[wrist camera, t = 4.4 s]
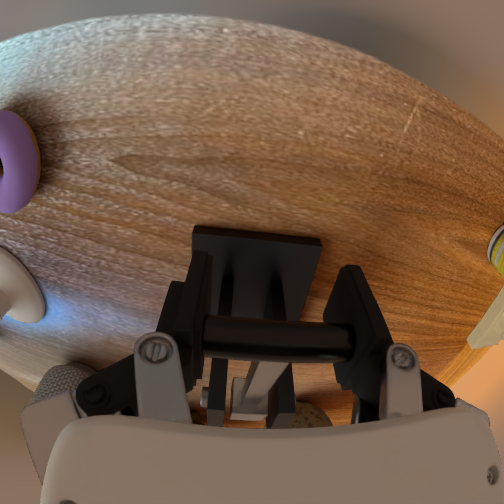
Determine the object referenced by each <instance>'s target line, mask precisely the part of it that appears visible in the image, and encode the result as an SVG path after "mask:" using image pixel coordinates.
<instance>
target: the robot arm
mask: <svg viewBox="0 0 504 504" xmlns="http://www.w3.org/2000/svg"><path fill="white" fill-rule="evenodd" d="M212 271H213V255H208V251H200V250H194V252H193V256H192V259H191V263H190V266H189V270H188V274H187V277H186V281H185V282H180V281H172V282H171V284H170V286H169V289H168V293H167V296H166V299H165V302H164V305H163V309H162V312H161V315H160V319H159V322H158V325H157V329H156V332H151V333H147V334H145V335H143V336H142V337H140V338H139V339H138V340H137V342H136V344H135V346H134V354H132V355H130V356H128V357H126V358H124V359H122V360H120V361H119V362H117V363H115V364H113V365H111V366H109V367H107V368H105V369H103V370H101V371H99V372H97V373H95V374H93V375H91V376H89V377H87V378H86V379H84V380H83V381H81V382H80V384H79V385H78V386H77V389H76V390H74V391H71V392H70V391H69V390H66V391H63V392H61V393H58V394H55V395H53V396H50V397H47V398H44V399H42V400H39V401H36V402H33V403H30V404H28V405H27V406H25V407H24V408H23V410H22V411H21V414H20V423H21V427H22V431H23V434H24V437H25V440H26V444H27V447H28V450H29V453H30V456H31V458H32V461H33V464H34V467H35V469H36V472H37V474H38V477H39V479H40V482H41V484H42V486H43V487H42V493H41V501H40V504H504V473H503V468H502V463H501V459H500V455H499V452H498V449H497V445H496V442H495V439H494V436H493V434H492V431H491V429H490V420H489V417H488V415H487V414H486V413H485V412H484V411H482V410H480V409H478V408H476V407H475V406H473V405H471V404H469V403H467V402H465V401H463V400H462V399H460V398H456V399H455V397H454V394H453V393H452V391H451V390H450V389H449V388H448V387H447V386H445V385H444V384H442V383H441V382H439V381H438V380H436V379H435V378H433V377H432V376H430V375H429V374H427V373H426V372H424V371H423V370H421V369H420V367H419V359H418V356H417V354H416V353H415V351H414V350H413V349H412V348H411V347H409V346H408V345H405V344H403V343H395V344H394V342H393V340H392V337H391V335H390V332H389V330H388V327H387V325H386V322H385V320H384V318H383V315H382V313H381V311H380V308H379V306H378V304H377V301H376V299H375V298H374V296H373V294H372V291H371V289H370V287H369V285H368V283H367V280H366V278H365V276H364V274H363V272H362V270H361V268H360V266H358V265H348V264H347V265H345V267H342V268H341V269H340V271H339V274H338V276H337V279H336V282H335V284H334V287H333V290H332V292H331V295H330V297H329V300H328V302H327V305H326V308H325V310H324V313H323V321H324V322H326V323H349V324H351V325H352V326H353V328H354V330H355V335H356V347H355V352H354V355H353V357H352V359H351V360H350V361H349V362H348V363H333V366H334V371H335V375H336V380H337V383H340V384H341V388H342V390H352V392H353V393H354V401H353V410H352V419H351V424H350V425H340V426H329V427H316V428H294V429H252V428H230V427H217V426H206V425H196V424H193V422H192V418H191V413H190V409H189V404H188V399H187V395H186V393H188V392H189V391H191V390H192V389H193V386H196V379H202V374H203V366H204V357H203V356H202V353H201V345H202V332H203V324H204V318H205V315H206V314H210V312H211V297H212Z"/></svg>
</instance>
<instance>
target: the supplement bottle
mask: <svg viewBox="0 0 504 504" xmlns="http://www.w3.org/2000/svg"><path fill="white" fill-rule="evenodd" d="M487 256H488V259H489V261H490V262H491V264H492V265H493V266H494V267H495V268H496V270H497V271H498V272H499V273H500V275H501V276H502V277H503V278H504V225H502V226H501V227H500V228H499V229H498V230H497V231H496V232H495V233H494V235H493V237H492V238H491V240H490V243H489V246H488V251H487Z"/></svg>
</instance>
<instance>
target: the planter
mask: <svg viewBox="0 0 504 504" xmlns="http://www.w3.org/2000/svg"><path fill="white" fill-rule="evenodd" d="M95 373H97V372H96V371H95V370H93V369H92V368H90V367H88V366H86V365H84V364H81V363H77V362H70V363H68V364H67V365H58V366H54V367H52V368H51V369H49V370H48V371H47V372H46V374H45V375H44V377H43V378H42V380H41V381H40V383H39V385H38V387H37V389H36V390H35V392H34V395H33V397H32V399H31V401H30V403H33V402H36V401H39V400H42V399H44V398H47V397H50V396H53V395H55V394H58V393H61V392H63V391H66V390H69V391H70V392H71V391H74V390H76V389H77V386H78V385H79V384H80V382H81V381H83V380H84V379H86V378H87V377H89V376H91V375H93V374H95ZM30 403H29V404H30Z"/></svg>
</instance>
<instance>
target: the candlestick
mask: <svg viewBox="0 0 504 504" xmlns="http://www.w3.org/2000/svg"><path fill="white" fill-rule="evenodd" d="M44 313H45V302H44V299H43V296H42V293H41V291H40V289H39V287H38V285H37V284H36V282H35V280H34V279H33V277H32V276H31V275H30V273H29V272H28V271H27V269H26V268H25V267H24V266H23V265H22V264H21V263H20V262H19V261H18V260H17V259H16V258H15V257H14V256H13V255H12V254H11V253H9V252H8V251H6V250H5V249H3V248H1V247H0V320H1V319H2V317H3V316H4V315H5V314H7V315H8V316H10V317H12V318H13V319H15V320H17V321H20V322H24V323H37V322H39V321H40V320H41V319H42V317H43V316H44Z"/></svg>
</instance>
